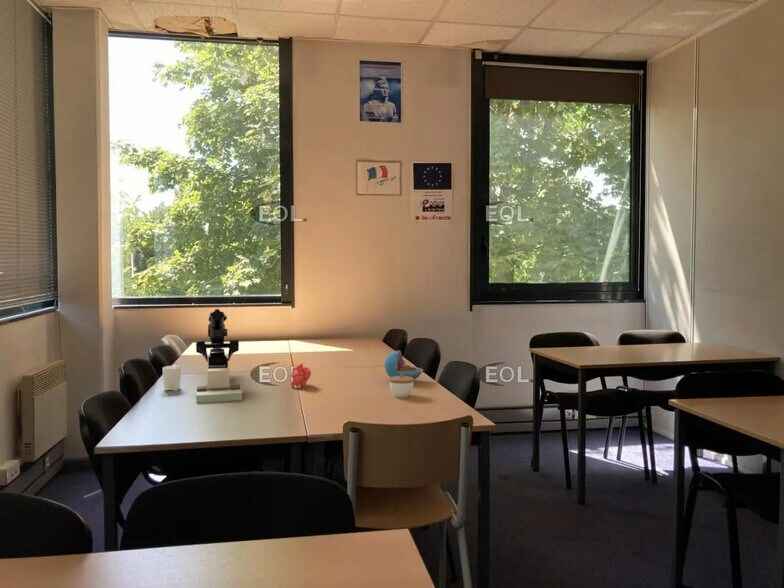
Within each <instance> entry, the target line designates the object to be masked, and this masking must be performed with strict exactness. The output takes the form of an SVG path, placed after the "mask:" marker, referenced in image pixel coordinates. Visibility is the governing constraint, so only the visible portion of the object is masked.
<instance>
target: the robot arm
mask: <svg viewBox="0 0 784 588" xmlns="http://www.w3.org/2000/svg"><path fill="white" fill-rule="evenodd" d="M227 319H228V317H227V315H226V314H225V312H224V311H221V310H220V308H216V309H214V311H210V312H209V314H208V322H209V324H208V325H207V337H209V341H210V343H206V340H197V341H196V342H195V348H196V349H195V351H196V352H195V353H197V354H198V353H199V354H200V355H202V356H203V358H204V360H205V361H206V363H208V365H207V366H208V367H207V370H208V369H213V368H229V362H230V360H231V357H232V356H233V354H235V353H236V352H238V351H239V349H240V348H239V347H240V342H239V341H240V340H238V339H229V342H228V343H227V342H226V343H225V337H228V328H226V326H225V322H226V320H227ZM207 349H210V352H209V356H208V352H207ZM225 349H228V353H227V354H228V355H226V352H225Z"/></svg>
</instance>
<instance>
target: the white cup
mask: <svg viewBox="0 0 784 588" xmlns="http://www.w3.org/2000/svg"><path fill="white" fill-rule="evenodd" d="M162 380H163V390H164V389H165V390H164V391H166V390H175V391H178V389H179V390H180V389H181V380H182V366H180V365H167V366H163V367H162Z"/></svg>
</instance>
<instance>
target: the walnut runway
mask: <svg viewBox="0 0 784 588" xmlns="http://www.w3.org/2000/svg"><path fill="white" fill-rule="evenodd" d="M225 390H241V385H240V383H231V384H230V383H229V387H223V388H208V384H207V385H196V393H197V392H206V391H225Z"/></svg>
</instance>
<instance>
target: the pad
mask: <svg viewBox="0 0 784 588" xmlns="http://www.w3.org/2000/svg"><path fill="white" fill-rule="evenodd" d="M195 396H196V398H195V399H196V400H195V401H196V403H197V402H200V403H212V402H215V403H216V402H230V401H242V400H243V392H242V389H240V390H225V391H206V392H197V391H196V395H195Z"/></svg>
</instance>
